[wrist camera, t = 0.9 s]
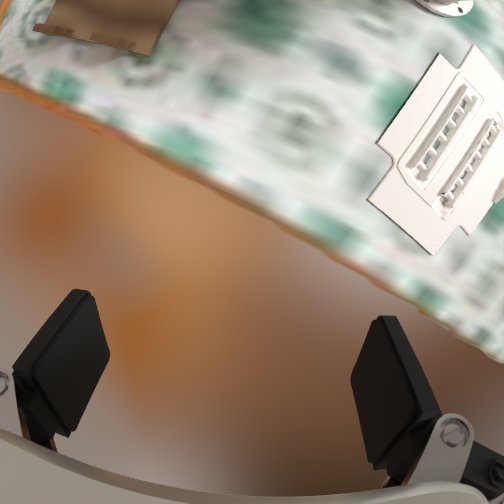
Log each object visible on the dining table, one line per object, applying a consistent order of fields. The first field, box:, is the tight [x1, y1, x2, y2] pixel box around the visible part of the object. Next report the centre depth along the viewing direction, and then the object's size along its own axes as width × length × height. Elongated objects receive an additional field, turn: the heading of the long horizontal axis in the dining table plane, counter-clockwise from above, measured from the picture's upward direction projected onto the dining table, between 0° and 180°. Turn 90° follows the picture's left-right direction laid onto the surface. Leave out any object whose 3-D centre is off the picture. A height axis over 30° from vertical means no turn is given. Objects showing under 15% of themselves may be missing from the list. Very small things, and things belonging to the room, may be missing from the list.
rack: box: [33, 0, 180, 57], centre depth 22 cm, size 9×18×5 cm, turn 64°
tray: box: [368, 45, 504, 255], centre depth 30 cm, size 20×28×4 cm
